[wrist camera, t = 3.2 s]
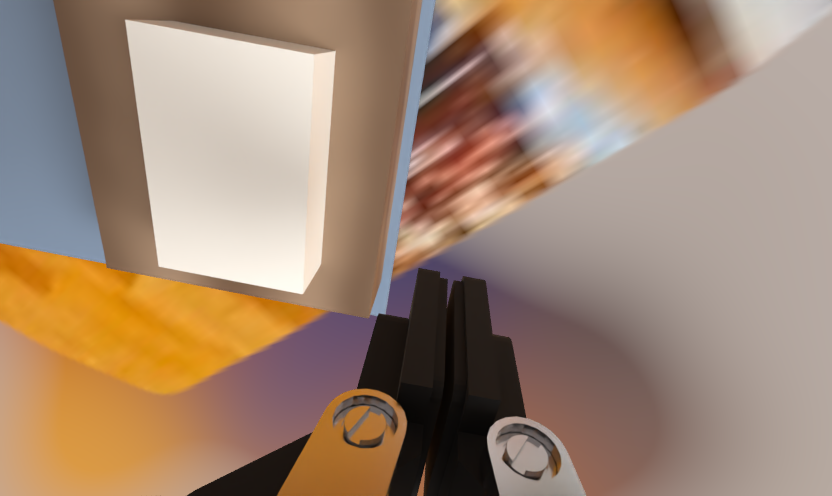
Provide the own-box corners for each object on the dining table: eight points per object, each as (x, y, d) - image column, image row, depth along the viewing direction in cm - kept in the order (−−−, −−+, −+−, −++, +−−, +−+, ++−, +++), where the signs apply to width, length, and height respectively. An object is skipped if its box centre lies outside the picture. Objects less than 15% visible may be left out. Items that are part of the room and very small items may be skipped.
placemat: (447, -80, 17) (447, -82, 16) (385, 313, 25) (384, 317, 25) (-149, -187, 17) (-162, -192, 17) (-7, 237, 26) (-14, 240, 25)
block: (423, -9, 17) (414, -17, 14) (381, 279, 24) (368, 318, 21) (113, -66, 18) (35, -87, 14) (154, 236, 24) (107, 267, 21)
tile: (335, 50, 15) (314, 54, 13) (321, 264, 20) (303, 294, 17) (173, 21, 16) (125, 19, 13) (193, 239, 20) (158, 266, 18)
